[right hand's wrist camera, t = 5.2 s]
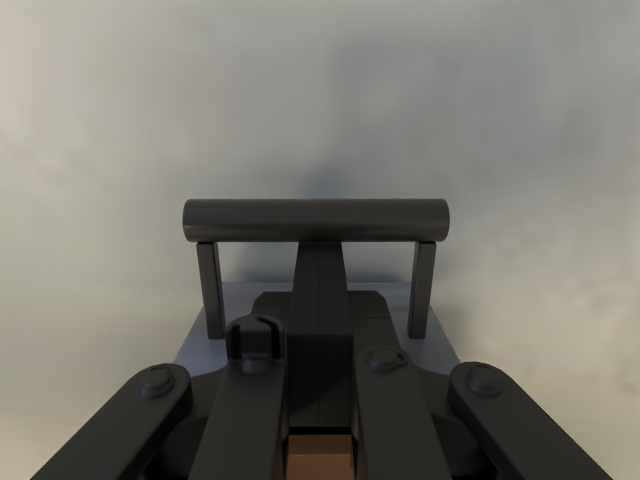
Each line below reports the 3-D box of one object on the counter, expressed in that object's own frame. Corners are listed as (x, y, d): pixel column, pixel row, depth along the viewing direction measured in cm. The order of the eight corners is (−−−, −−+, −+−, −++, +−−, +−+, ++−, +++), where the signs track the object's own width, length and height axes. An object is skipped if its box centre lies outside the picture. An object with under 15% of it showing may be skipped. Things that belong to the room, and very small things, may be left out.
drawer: (203, 173, 17) (135, 222, 10) (429, 173, 17) (495, 221, 11) (240, 510, 25) (214, 652, 18) (394, 509, 25) (420, 651, 18)
